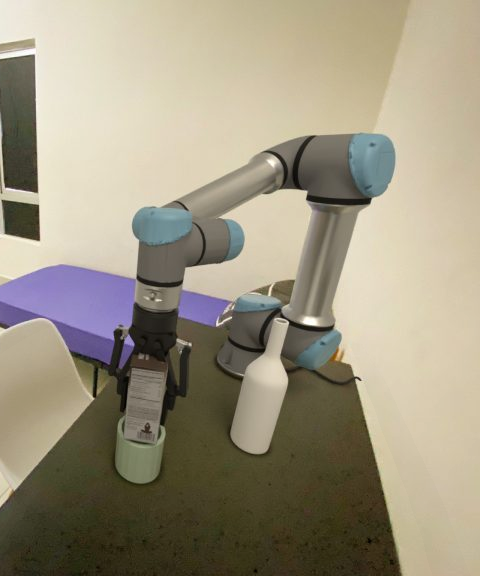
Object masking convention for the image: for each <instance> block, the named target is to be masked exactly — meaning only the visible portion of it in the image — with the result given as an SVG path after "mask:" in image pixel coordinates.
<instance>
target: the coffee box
mask: <svg viewBox="0 0 480 576" xmlns="http://www.w3.org/2000/svg"><path fill="white" fill-rule="evenodd" d="M134 347H135V344H134V343H133V349H134ZM133 349H132V350H133ZM167 371H168V359H167V361H166V363H165V362H161V361H158V359H157V357H154V356H152V355H150V354H143V353H141V351H140V353H139V354H138V355H134V354H132V358H131V363H130V369H129V372H128V373H129V375H128V376H129V384H128V394H127V405H126V409H125V415H126V416H125V415H124V416H125V426H124V438H125V439H130V440H135V441H141V442H146V443H152V444H157V439H158V432H159V426H160V419H161V413H162V406H163V399H164V394H165V392H166V378H167Z"/></svg>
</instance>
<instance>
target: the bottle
mask: <svg viewBox="0 0 480 576" xmlns="http://www.w3.org/2000/svg"><path fill="white" fill-rule="evenodd" d="M288 325H289V322H288V321H287V320H285V319H282V318H275V319H274V321H273V325H272V328H271V332H270V336H269V340H268V343H267V347H266V350H265V352H264V354H263V355H261V356H260V357H259V358H257V359H256V360H254V361H253V362H252V363H250V364H249V365H248V367H247V368H246V371H245V374H244V378H243V380H242V382H241V387H240V391H239V395H238V399H237V404H236V406H235V411H234V416H233V420H232V423H231V429H230V432H229V434H230V439H231V441H232V442H233V443H234V445H235V446H237V447H238V449H240V450H241V451H244V452H246V453H249V454H253V455H262V454H265V453H267V451H268V450H269V448H270V446H271V443H272V439H273V435H274V431H275V428H276V425H277V422H278V420H279V419H278V418H279V416H280V412H281V408H282V406H283V403H284V399H285V396H286V392H287V389H288V385H289V377H288V374H287V372H286V371H285V369H286V368H285V367H284V364H283V362H282V359H281V356H280V354H281V350H282V346H283V343H284V339H285V336H286V332H287V329H288Z"/></svg>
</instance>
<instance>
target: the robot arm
mask: <svg viewBox="0 0 480 576" xmlns="http://www.w3.org/2000/svg"><path fill="white" fill-rule="evenodd" d="M395 169H396V149H395V147H394V142H393V141H392V139H391V138H390V137H389V136H387V135H386V134H383V133H371V132H370V133H369V132H358V133H340V134H339V133H338V134H335V133H334V134H319V135H318V134H317V135H316V134H313V135H312V134H311V135H310V134H309V135H302V136H299V137H295V138H292V139H289V140H286V141H283V142H281V143H278V144H276V145H274V146H271V147H269V148H267V149H265V150H263V151H260V152H259V153H257V154H255V155H253V156H252V157H251V158H250V159H249V161H248V162H247V163H246V164H245V165H243V166H240V167H239V168H237V169H235V170H232V171H231V172H228V173H226V174H224V175H222V176H221V177H219V178H216V179H215V180H213V181H210V182H209V183H206V184H203V185H202V186H200V187H199V188H196V189H195V190H192V191H190V192H188V193H186V194H184V195H182V196H180V197H178V198H176V199H175V200H171V202H168V203H167V204H164V205H162V206H159V207H157V206H155V205H152V206H143V207H141V208H140V209H138V210H137V211H136V213H135V214H134V216H133V218H132V220H131V222H132V223H131V229H132V230H131V232H132V233H133V236H134V237H135V238H136V239H137V240H138V248H137V249H138V250H137V261H136V262H137V263H136V273H135V274H136V275H135V276H136V277H135V284H134V297H133V300H134V302H133V304H132V305H133V306H132V316H131V324H130V326H124V325H123V324H118V325H117V326H116V328H115V329H114V330H113V341H114V343H113V348H112V353H111V357H110V361H109V366H108V371H107V375H108V376H109V377H114V378H115V379H116V381H117V382H116V394H117V395H120V402H119V403H120V404H119V412H120V413H125V412H126V405H127V394H128V384H129V375H127V374H128V373H129V372H130V363H131V358H132V354H134V355H138V354H139V353H140V351H141V353H143V354H150V355H152V356H154V357H157V359H158V361H161V362H165V363H166V361H167V359H168V371H167V378H166V385H165V392H164V398H163V405H162V412H161V419H160V425H161V426H164V427H165V424H166V421H167V418H168V413H169V411H171V412H173V410H174V409H175V406H176V402H177V397H180V398H183V399H184V398H186V397H187V394H188V391H189V388H190V387H189V386H190V385H189V384H190V383H189V382H190V356H191V352H192V349H193V346H194V342H193V341H192V340H187V341H185V340H182V339H180V338H179V336H178V334H177V326H178V321H179V320H178V319H179V313H180V309H179V306H180V305H181V299H182V293H183V287H184V280H185V279H184V278H185V274H186V273H185V272H186V268H192V267H193V268H194V267H199V266H207V265H220V264H223V263H225V262H230V261H232V260H235V259H237V257H239V256H240V254H241V253H242V251H243V250H244V246H245V242H246V237H245V232H244V230H243V227H242V226H241V225H240V224H239V223H238V222H237V221H236V220H234V219H232V218H231V219H230V218H221V217H223V216H224V215H226V214H228V213H230V212H231V211H233V210H235V209H237V208H239V207H240V206H242V205H244V204H246V203H249V202H250V201H251V200H253V199H255V198H257V197H259V196H261V195H272V194H273V193H275V192H277V191H280V190H297V191H298V190H299V191H306V192H307V193H306V196H305V202H306V204H307V205H308V206H309V208H310V214H309V218H308V221H307V227H306V232H305V236H304V240H303V244H302V248H301V253H300V257H299V261H298V266H297V270H296V274H295V279H294V283H293V288H292V290H291V291H292V292H291V297H290V301H289V303H288V304H285V305H284V306H283V304H282V300H280V299H279V298H278V297H274V296H271V295H266V294H257V293H255V294H254V293H253V294H252V293H250V294H243V295H240V296H238V297H237V298H236V300H235V302H234V305H233V308H232V315H231V319H230V324H229V329H228V335H227V338H226V341H225V342H224V343H223V344H222V345H221V347H220V350H219V351H218V353H217V355H216V364H217V366H218V367H219V369H220V370H221V371H222V372H224V373H225V374H226V375H228V376H230V377H232V378H235V379H237V380H241V381H243V378H244V374H245V371H246V368H247V367H248V365H249V364H250V363H252V362H253V361H254V360H256V359H257V358H259V357H260V356H261V355H263V354H264V352H265V350H266V347H267V343H268V340H269V336H270V332H271V328H272V325H273V321H274V319H275V318H282V319H285V320H287V321H288V322H289V325H288V329H287V332H286V336H285V339H284V343H283V346H282V350H281V354H280V357H282V358H284V359H286V360H288V361H290V362H292V363H293V364H294V365H295V366H294V367H292V368H289V369H288V368H284V369H285V371H286V373H289V372H290V373H291V372H294V371H296V370H298V369H305V370H308V371H311V372H313V373H315V374H317V375H318V376H319V377H321V378H323V379H325V380H326V381H328V382H330V383H333V384H337V385H347V384H350V383H352V382H354V381H355V380H357V381H359V382H362V381H363V380H362V379H361V377H359V376H352V377H351V378H349V379H348V380H345V381H338V380H334V379H332V378H330V377H327V376H326V375H324V374H323V373H321V372H319V371H317V370H318V369H319V368H322V367H323V366H324V365H325V364H326V363H327V362H328V361H329V360H331V358H332V357H333V356H334V354H335V353H336V352H337V350H338V349H339V346H340V344H341V342H342V340H343V336H342V333H341V332H340V330H338V329H335V328H334V327H335V324H336V321H337V320H336V317H335V315H333V313H332V312H331V311H332V307H333V305H334V300H335V297H336V293H337V289H338V286H339V283H340V279H341V276H342V272H343V269H344V265H345V263H346V262H345V261H346V259H347V255H348V251H349V248H350V245H351V240H352V237H353V234H354V231H355V227H356V224H357V221H358V217H359V213H360V212H362V211H363V210H364V209H366V208H368V207H370V206H371V204H372V200H373V199H374V198H378V197H380V196H382V195H383V194H384V193H385V192H387V190H388V189H389V184H391V182H392V180H393V177H394V172H395ZM128 335H129V337H130V339H131V341H132V343H133V345H134V344H135V347H134V346H133V348H134V349H132V350H131V352H130V354H129V356H128V357H127V359H126V361H125V363H124V364H123V366H122V368H119V367H120V363H121V358H122V354H123V351H124V345H125V341H126V339H127V337H128ZM174 347H176V348H177V353H178V354H179V355H180V356H179V366H178V367H179V373H178V374H179V377H178V378H179V379H178V382H177V379H176V375H175V371H174V367H173V363H172V360H171V359H172V358H171V355H170V354H171V353H170V352H171V351H170V350H171V349H173V348H174ZM296 365H297V366H296Z"/></svg>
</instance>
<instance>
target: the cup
mask: <svg viewBox="0 0 480 576" xmlns="http://www.w3.org/2000/svg"><path fill="white" fill-rule="evenodd" d="M125 416H126V414H124V415H123V416H122V417H120V419H119V421H118V423H117V429H116V430H117V431H116V442H115V452H114V453H115V454H114V466H115V468H116V469H115V470H117V473H119V475H120V476H121V477H122V478H124V479H125V480H127V481H129V482H130V483H134V484H139V485H141V484H147V483H150V482H153V481H154V480H155V479H156V478H157V477H158V476H159V475H160V471H161V467H162V462H163V461H162V459H163V456H164V455H163V454H164V448H165V441H166V428H165V425H164V426H161V425H160V426H159V432H158V439H157V444H152V443H146V442H141V441H135V440H130V439H125V438H124V426H125Z"/></svg>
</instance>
